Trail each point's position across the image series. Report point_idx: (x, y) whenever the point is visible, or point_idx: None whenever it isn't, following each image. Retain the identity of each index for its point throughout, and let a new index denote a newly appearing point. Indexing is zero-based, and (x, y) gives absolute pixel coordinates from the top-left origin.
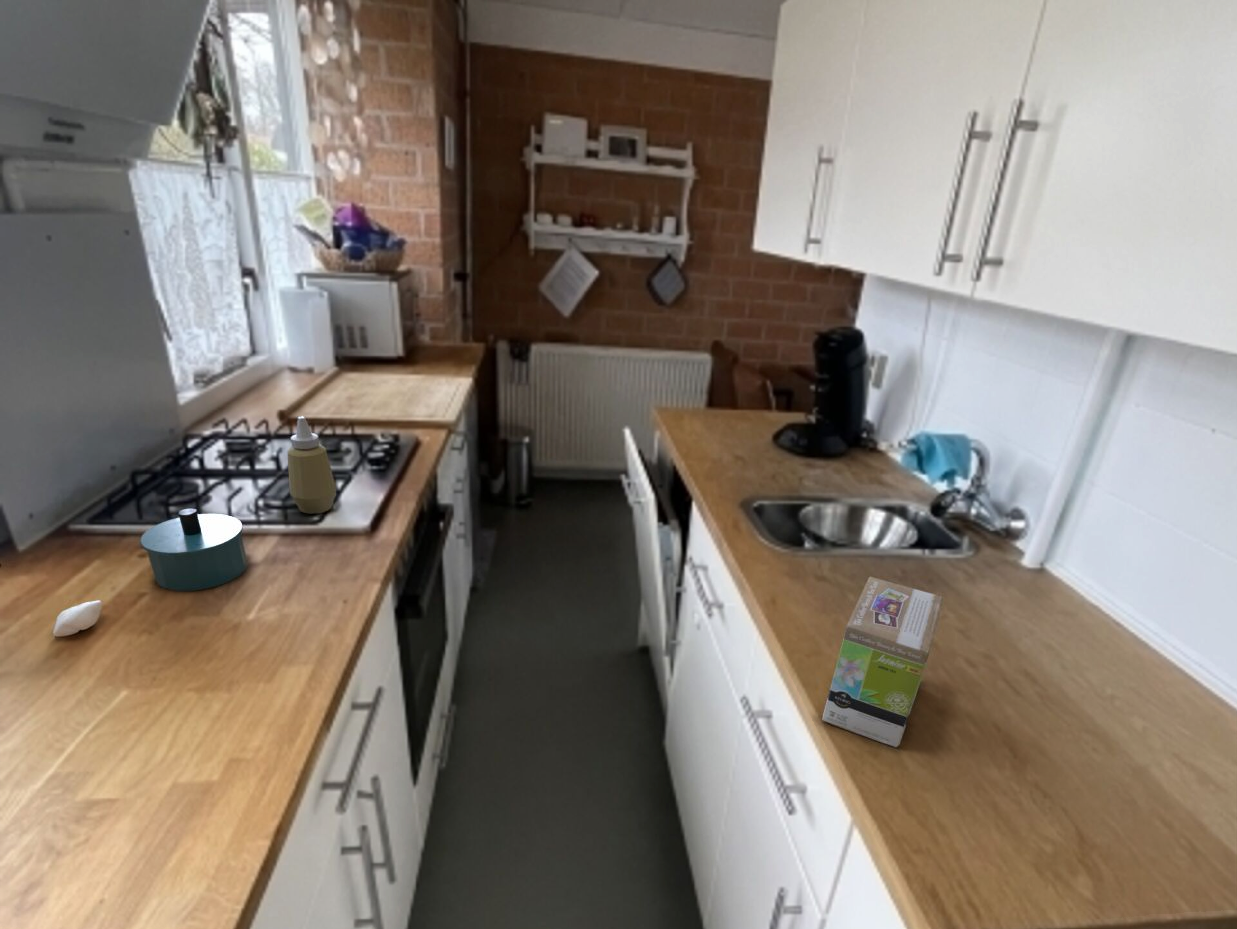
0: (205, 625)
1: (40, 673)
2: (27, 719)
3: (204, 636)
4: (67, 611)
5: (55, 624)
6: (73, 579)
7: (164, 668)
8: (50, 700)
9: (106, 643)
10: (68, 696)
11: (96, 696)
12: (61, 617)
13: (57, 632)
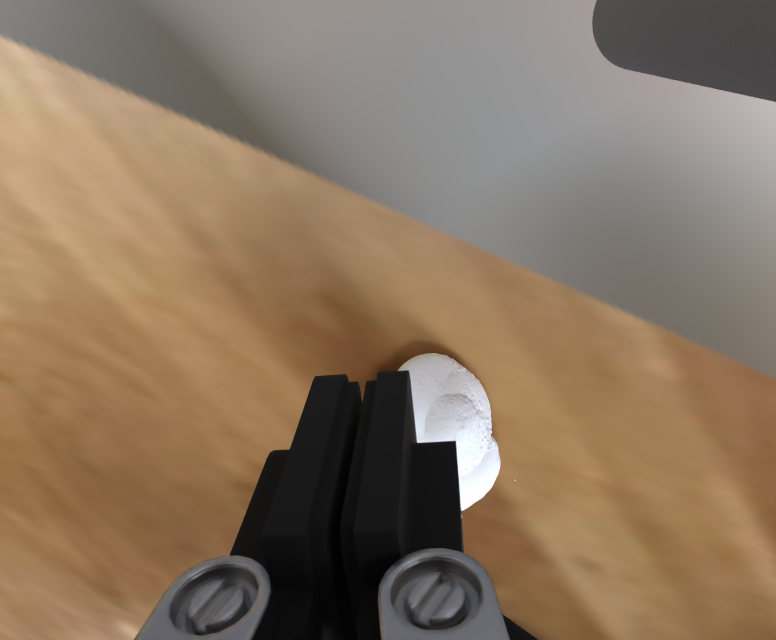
0: (173, 565)
1: (268, 227)
2: (29, 85)
3: (120, 537)
4: (428, 441)
5: (455, 384)
6: (764, 543)
7: (35, 414)
8: (88, 173)
9: (286, 405)
10: (73, 212)
11: (18, 254)
12: (415, 413)
13: (403, 364)
